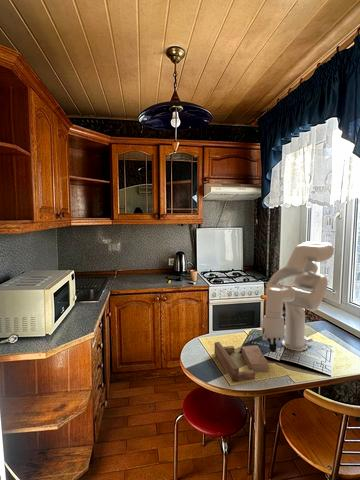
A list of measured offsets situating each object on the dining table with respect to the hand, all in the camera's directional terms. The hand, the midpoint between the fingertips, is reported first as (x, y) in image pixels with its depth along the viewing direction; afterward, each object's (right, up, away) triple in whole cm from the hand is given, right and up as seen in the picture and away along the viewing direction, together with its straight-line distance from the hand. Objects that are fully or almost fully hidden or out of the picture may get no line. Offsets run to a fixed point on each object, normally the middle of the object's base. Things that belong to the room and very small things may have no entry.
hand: (272, 350), depth 129 cm
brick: (-9, -6, -1) cm, 10 cm away
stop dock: (-19, -6, -3) cm, 20 cm away
